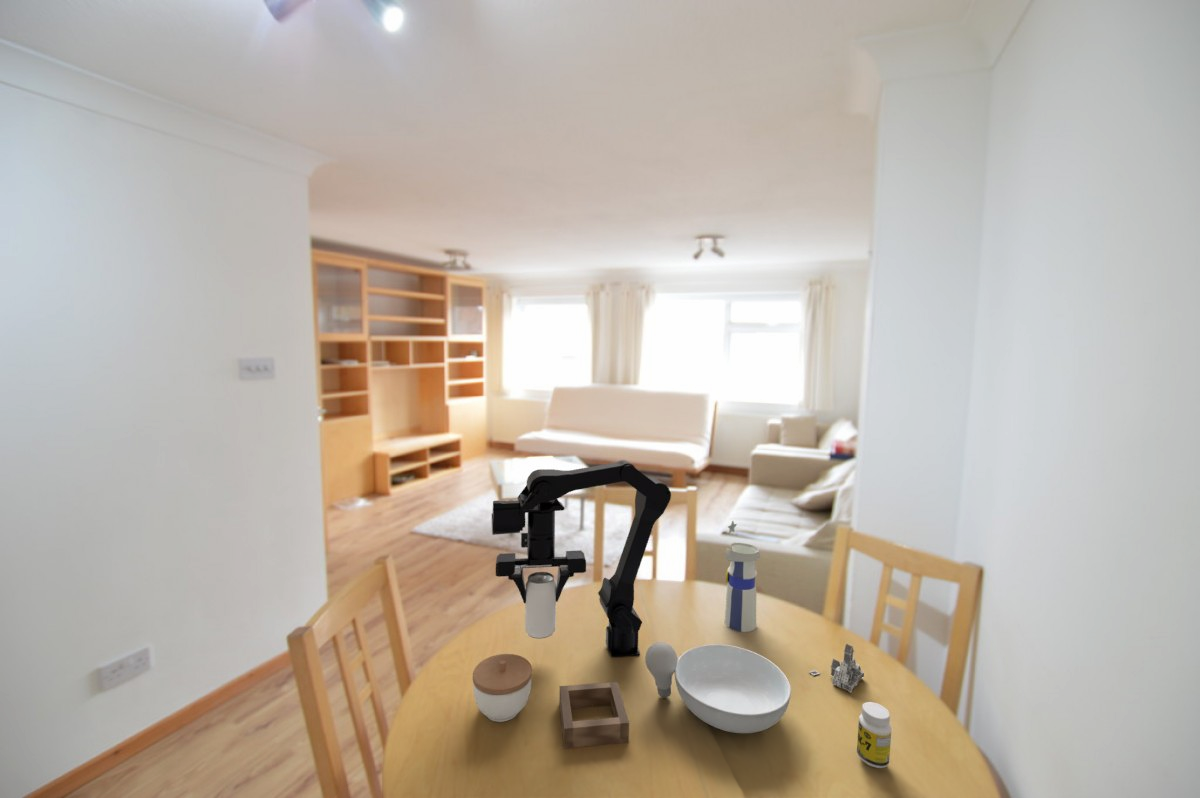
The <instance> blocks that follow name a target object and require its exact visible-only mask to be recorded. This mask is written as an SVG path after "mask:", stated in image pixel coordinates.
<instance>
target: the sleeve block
mask: <svg viewBox="0 0 1200 798" xmlns="http://www.w3.org/2000/svg"><path fill="white" fill-rule="evenodd" d="M558 701H559V703H558V704H559V712H560V713H559V714H560V721H561V722H560V723H561V732H562V740H563V741H562V742H563V749H574V748H582V747H591V746H592V747H593V746H603V745H611V744H612V745H613V744H620V743H621V744H623V743H624V744H625V743H629V736H630V735H629V734H630V722H629V718H628V714H627V710H626V708H625V704H624V701H623V698H622V693H621V690H620V687H619V683H618V681H609V682H594V683H593V682H592V683H582V684H568V685H559V700H558ZM598 706H610V709H611V712H612V716H613V717H608V718H605V717H604V718H597V719H595V718H594V719H587V720H586V719H585V720H575V721H573V716H572V709H578V708H589V707H598Z"/></svg>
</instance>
